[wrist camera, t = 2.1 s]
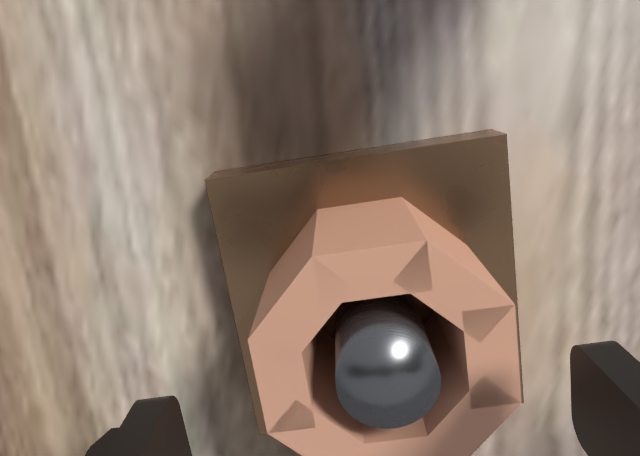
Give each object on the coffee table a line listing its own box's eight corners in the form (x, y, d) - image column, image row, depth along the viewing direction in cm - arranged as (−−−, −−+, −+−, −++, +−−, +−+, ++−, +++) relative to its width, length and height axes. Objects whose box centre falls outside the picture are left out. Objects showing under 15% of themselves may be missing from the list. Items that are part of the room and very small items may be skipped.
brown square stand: (491, 129, 17) (584, 158, 11) (509, 378, 19) (593, 522, 13) (215, 171, 18) (149, 222, 11) (264, 409, 20) (233, 560, 14)
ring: (462, 188, 16) (509, 228, 12) (478, 371, 18) (525, 466, 13) (258, 217, 16) (232, 267, 12) (292, 394, 18) (280, 494, 14)
